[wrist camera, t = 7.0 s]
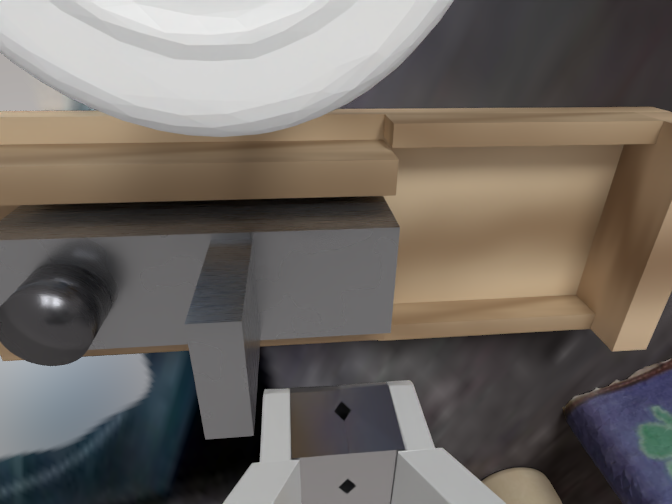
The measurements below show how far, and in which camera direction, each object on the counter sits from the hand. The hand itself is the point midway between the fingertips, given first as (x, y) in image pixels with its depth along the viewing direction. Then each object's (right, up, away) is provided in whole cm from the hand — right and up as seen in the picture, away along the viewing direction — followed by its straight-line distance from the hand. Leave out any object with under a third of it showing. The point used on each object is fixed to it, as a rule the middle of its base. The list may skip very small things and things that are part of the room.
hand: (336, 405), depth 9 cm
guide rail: (0, +5, +9) cm, 10 cm away
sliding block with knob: (-4, +4, +8) cm, 10 cm away
